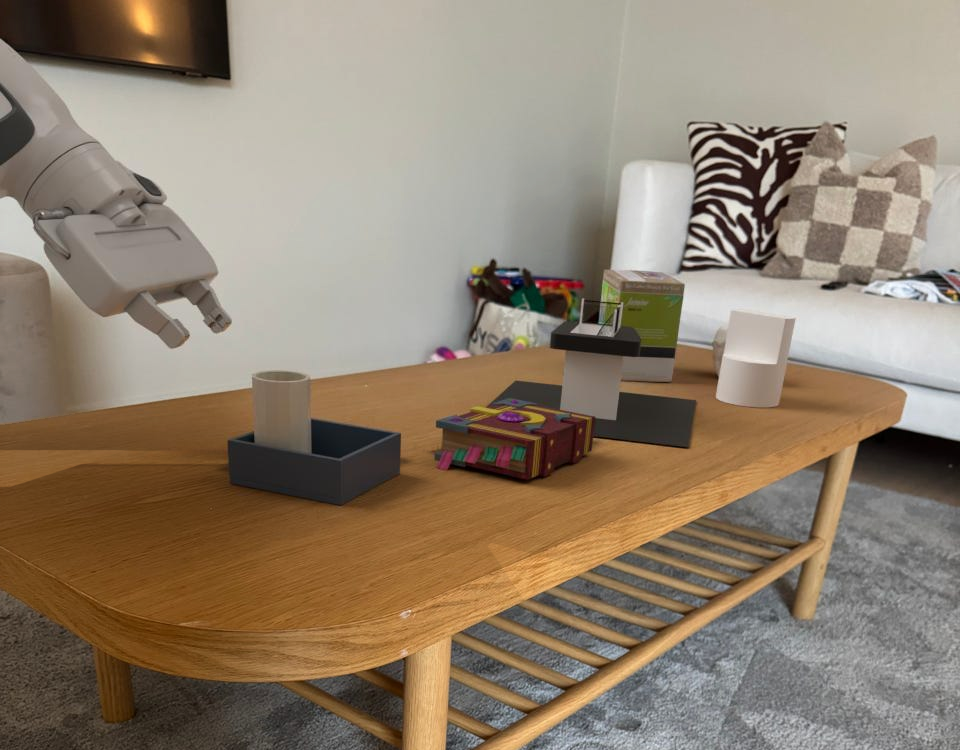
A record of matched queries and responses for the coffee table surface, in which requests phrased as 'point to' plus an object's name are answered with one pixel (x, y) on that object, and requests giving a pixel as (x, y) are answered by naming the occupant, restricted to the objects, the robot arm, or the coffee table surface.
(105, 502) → the coffee table surface
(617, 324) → the black-topped pedestal
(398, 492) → the coffee table surface
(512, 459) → the decorative book
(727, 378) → the base with upright slab
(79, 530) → the coffee table surface
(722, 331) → the penguin figurine
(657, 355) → the tea box
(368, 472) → the slate bin
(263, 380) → the cream cup
